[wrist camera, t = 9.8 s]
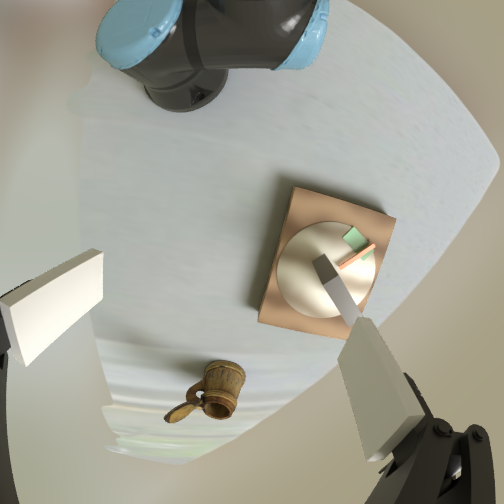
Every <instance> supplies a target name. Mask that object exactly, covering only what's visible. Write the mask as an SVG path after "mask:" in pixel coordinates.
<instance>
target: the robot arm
mask: <svg viewBox="0 0 504 504" xmlns="http://www.w3.org/2000/svg"><path fill="white" fill-rule="evenodd" d="M328 14H329V0H118V1H117V2H116V3H115V4H114V6H113V7H112V8H110V10H108V12H107V13H106V14H105V16H104V17H103V19H102V21H101V23H100V25H99V28H98V30H97V34H96V48H97V51H98V53H99V55H100V56H101V57H102V58H103V59H104V60H106V61H107V62H108V63H109V64H110V65H111V66H112V67H113V68H115V69H119V70H120V71H122V72H124V73H126V74H127V75H129V76H131V77H132V78H134V79H136V80H138V81H139V82H141V83H142V84H143V85H144V88H145V90H146V93H147V95H148V97H149V98H150V99H151V100H152V101H153V102H154V103H155V104H156V105H158V106H160V107H161V108H163V109H165V110H168V111H172V112H189V111H193V110H196V109H199V108H201V107H203V106H205V105H206V104H208V103H209V102H211V101H212V100H213V99H214V98H215V97H216V96H217V95H218V94H219V93H220V92H221V90H222V89H223V87H224V85H225V83H226V80H227V77H228V69H233V68H267V69H270V70H273V71H276V70H280V69H292V70H300V69H304V68H306V67H308V66H310V65H311V64H312V63H313V62H314V60H315V59H316V57H317V55H318V53H319V51H320V49H321V46H322V43H323V40H324V37H325V33H326V29H327V20H326V19H327V17H328ZM102 280H103V252H102V251H99V250H96V249H93V248H92V249H90V250H88V251H86V252H84V253H82V254H80V255H78V256H76V257H74V258H72V259H70V260H68V261H66V262H64V263H62V264H60V265H58V266H57V267H55V268H53V269H51V270H49V271H47V272H45V273H44V274H42V275H40V276H38V277H36V278H35V279H32V280H28V281H26V282H24V283H23V284H21V285H20V286H18V287H16V288H14V290H11V291H9V292H7V293H5V294H4V295H2V296H1V297H0V504H19V501H18V497H17V493H16V489H15V484H14V479H13V474H12V469H11V462H10V455H9V448H8V439H7V438H8V437H7V424H6V382H7V367H8V354H7V350H8V349H9V348H11V349H12V352H13V355H14V358H15V359H16V360H17V361H19V362H20V363H21V364H23V365H24V366H28V365H29V364H30V363H31V362H32V361H33V360H34V359H35V358H36V357H37V356H38V355H39V354H40V353H41V352H42V351H43V350H45V349H46V348H47V347H48V346H49V345H50V344H51V343H52V342H53V341H54V340H55V339H56V338H58V337H59V336H60V335H61V334H62V333H63V332H64V331H65V330H67V329H68V328H69V327H70V326H71V325H72V324H73V323H74V322H76V321H77V320H78V319H79V318H80V317H81V316H83V314H85V313H86V312H87V311H89V310H90V309H91V308H92V307H93V306H94V305H96V304H97V303H98V302H99V301H100V300H102V299H103V291H102ZM337 360H338V363H339V366H340V369H341V372H342V376H343V379H344V382H345V385H346V389H347V392H348V396H349V399H350V402H351V406H352V409H353V413H354V417H355V420H356V424H357V427H358V431H359V435H360V438H361V442H362V446H363V450H364V454H365V458H366V461H378V460H383V459H385V458H386V457H387V456H388V455H389V454H390V453H391V452H392V453H393V456H394V458H393V459H392V460H391V461H390V462H389V463H388V464H387V465H386V466H385V467H384V468H382V469H381V470H380V471H379V473H380V474H381V473H382V472H383V471H384V473H383V475H382V477H381V478H380V480H379V482H378V483H377V485H376V487H375V488H374V490H373V491H372V493H371V495H370V496H369V498H368V499H367V501H366V502H365V504H496V500H495V479H494V469H493V460H492V453H491V447H490V441H489V436H488V434H487V432H486V431H485V429H484V428H483V427H481V426H479V425H476V424H473V425H471V426H469V427H468V428H467V430H466V431H465V432H464V433H459V432H454V431H453V429H452V427H451V426H450V424H449V423H448V422H446V421H445V420H443V419H440V418H434V417H433V415H432V413H431V411H430V409H429V408H428V406H427V404H426V402H425V400H424V398H423V397H422V396H421V393H420V391H419V390H418V388H417V386H416V384H415V383H414V381H413V379H411V378H410V377H409V376H408V375H407V374H406V373H403V372H402V370H401V369H400V367H399V365H398V363H397V362H396V360H395V358H394V357H393V355H392V353H391V351H390V350H389V348H388V346H387V345H386V343H385V341H384V340H383V338H382V336H381V335H380V333H379V331H378V330H377V328H376V326H375V325H374V323H373V322H372V320H371V319H370V318H365V317H360V316H358V317H357V319H356V321H355V323H354V326H353V328H352V330H351V332H350V334H349V337H348V339H347V341H346V343H345V345H344V347H343V349H342V351H341V353H340V355H339V357H338V359H337ZM460 470H461V476H460V477H459V478H457V479H456V473H458V472H459V471H460Z"/></svg>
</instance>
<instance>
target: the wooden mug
mask: <svg viewBox="0 0 504 504" xmlns="http://www.w3.org/2000/svg"><path fill="white" fill-rule="evenodd" d="M245 377H246V375H245V372H244V370H243V369H242V368H241V367H240V366H239V365H237V364H236V363H233V362H230V361H216V362H213V363H211V364H210V365H208V366H207V368H206V369H205V371H204V378H203V380H201V381H200V382H198V383H197V384H195V385H193V386H192V387H190V388H189V390H188V391H187V393H186V401H187V402H185V403H182V404H180V405H178V406H177V407H175V408H174V409H172V410H171V411H170V412H168V413H167V414H166V415H165V416H164V420H165V421H166V422H168V423H176V422H178V421H180V420H182V419H183V418H185V417H186V416H188V415H189V414H190V413H191V412H192V411H193V410H194V409H200V410H203V411H204V413H205V414H206V415H208V416H209V417H211V418H214V419H219V420H222V419H227V418H230V417H231V415H232V413H233V412H234V411H235V408H236V406H237V398H238V395H239V393H240V390H241V388H242V386H243V384H244V382H245ZM197 391H203V392H204V393H203V394H202V395H201V399H200V398H198V397H197V396H196V392H197Z"/></svg>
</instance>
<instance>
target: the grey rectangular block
mask: <svg viewBox="0 0 504 504" xmlns="http://www.w3.org/2000/svg"><path fill="white" fill-rule="evenodd" d="M375 247H376V246H375V245H374V243H371V244H370V245H369V246H367V247H366V248H364V249H363V250H361V251H360V252H358V253H357V254H355V255H354V256H352V257H351V258H349V259H348V260H346V261H345V262H343V263H342V264H340V265H339V266H338V267H339V268H340V270H342V269H344V268H345V267H347V266H348V265H350V264H351V263H353V262H354V261H356V260H357V259H359V258H360V257H362V256H363V255H365V254H366V253H367V252H369V251H370V250H372V249H373V248H375ZM312 263H313V266H314V268H315V270H316V272H317V274H318V277H319V279H320V281H321V283H322V285H323V287H324V289H325V290H326V292H327V293H328V295H329V296H330V298H331V300H332V301H333V303H334V304H335V306H336V307H337V309H338V311H339V312H340V314H341V315H342V317H343V319H344V320H345V322H346V324H347V325H348V327H350V326H352V325H354V323H355V321H356V319H357V317H358V316H360V317H363V316H362V314H361V312H360V310H359V308H358V307H357V305H356V303H355V301H354V300H353V298H352V296H351V295H350V293H349V291H348V289H347V288H346V286H345V284H344V283H343V281H342V279H341V278H340V276H339V274H338V273H337V271H336V270H335V268H334V267H333V265H332V264H331V262H330V261H329V259H328V258H327V256H326V255H325V253H324V254H322V255H321V256H319V257H318V258H316V259H315V260H313V261H312Z"/></svg>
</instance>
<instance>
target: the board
mask: <svg viewBox="0 0 504 504" xmlns="http://www.w3.org/2000/svg"><path fill="white" fill-rule="evenodd" d="M395 222H396V218H393V217H391V216H388V215H385V214H383V213H380V212H377V211H374V210H371V209H368V208H365V207H362V206H359V205H356V204H353V203H350V202H347V201H344V200H340V199H337V198H334V197H331V196H327V195H324V194H321V193H317V192H314V191H310V190H307V189H303V188H300V187H296V186H293V189H292V193H291V197H290V201H289V205H288V208H287V212H286V216H285V219H284V223H283V227H282V230H281V234H280V238H279V241H278V245H277V249H276V252H275V256H274V259H273V263H272V267H271V270H270V274H269V277H268V281H267V284H266V288H265V291H264V295H263V298H262V301H261V305H260V308H259V312H258V322H259V323H264V324H268V325H272V326H277V327H281V328H286V329H291V330H296V331H300V332H305V333H310V334H316V335H321V336H326V337H332V338H337V339H343V340H347V339H348V337H349V334H350V332H351V330H352V328H353V326H354V325H352V326H350V327H348V325H347V324H346V322H345V320H344V319H343V317H342V315H341V314H340V312H339V311H338V309H337V307H336V306H335V304H334V303H333V301H332V300H331V298H330V296H329V295H328V293H327V292H326V290H325V289H324V287H323V285H322V283H321V281H320V279H319V277H318V274H317V272H316V270H315V268H314V266H313V263H312V261H313V260H315V259H316V258H318V257H319V256H321V255H322V254H324V253H325V255H326V256H327V258H328V259H329V261H330V262H331V264H332V265H333V267H334V268H335V270H336V271H337V273H338V274H339V276H340V278H341V279H342V281H343V283H344V284H345V286H346V288H347V289H348V291H349V293H350V295H351V296H352V298H353V300H354V301H355V303H356V305H357V307H358V308H359V310H360V312H361V314H362V312H363V310H364V307H365V305H366V303H367V300H368V298H369V295H370V293H371V290H372V288H373V285H374V283H375V280H376V278H377V275H378V272H379V270H380V267H381V264H382V262H383V259H384V256H385V253H386V250H387V247H388V244H389V241H390V238H391V235H392V232H393V229H394V225H395ZM371 243H374V245H375V246H376V247H375V248H373V249H372V250H370V251H369V252H367V253H366V254H365V255H363V256H362V257H360V258H359V259H357V260H356V261H354V262H353V263H351V264H350V265H348V266H347V267H345V268H344V269H342V270H340V268H339V267H338V266H339V265H340V264H342V263H343V262H345V261H346V260H348V259H349V258H351V257H352V256H354V255H355V254H357V253H358V252H360V251H361V250H363V249H364V248H366V247H367V246H369V245H370V244H371Z"/></svg>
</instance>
